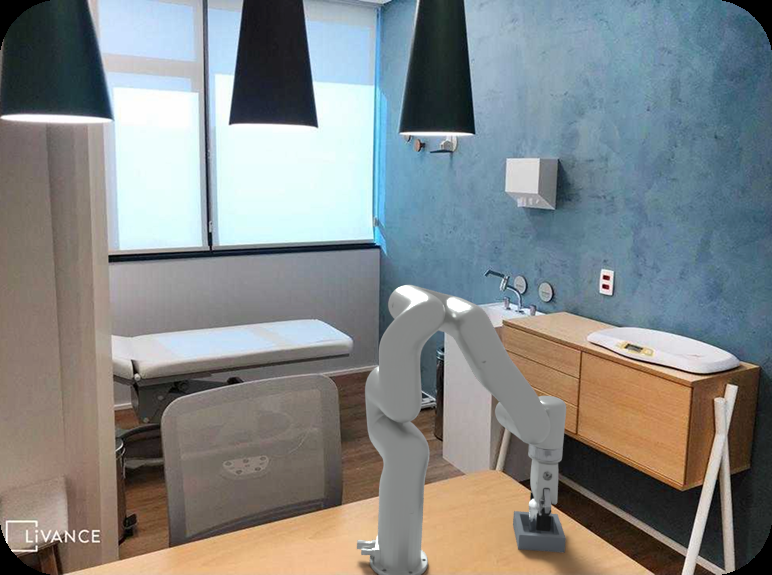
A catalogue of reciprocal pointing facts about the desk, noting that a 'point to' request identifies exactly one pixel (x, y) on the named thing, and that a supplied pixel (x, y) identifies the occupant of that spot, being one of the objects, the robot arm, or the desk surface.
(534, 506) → the milkshake
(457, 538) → the desk surface
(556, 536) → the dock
